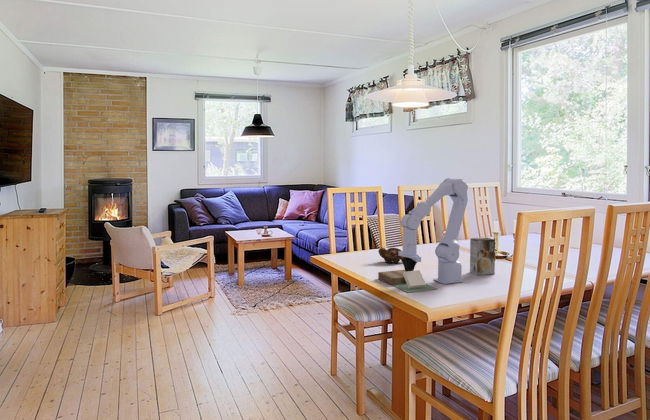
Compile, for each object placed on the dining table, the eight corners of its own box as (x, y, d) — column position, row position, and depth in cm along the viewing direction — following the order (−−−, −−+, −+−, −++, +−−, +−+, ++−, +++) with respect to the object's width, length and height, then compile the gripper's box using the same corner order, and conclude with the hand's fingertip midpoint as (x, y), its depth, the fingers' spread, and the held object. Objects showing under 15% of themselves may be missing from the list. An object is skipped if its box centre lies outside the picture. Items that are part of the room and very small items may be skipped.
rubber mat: (420, 282, 199) (420, 281, 199) (437, 289, 188) (437, 288, 188) (392, 285, 193) (392, 284, 193) (407, 292, 182) (407, 292, 182)
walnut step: (405, 276, 210) (405, 269, 209) (420, 282, 199) (420, 275, 198) (378, 279, 205) (378, 272, 204) (392, 285, 193) (392, 278, 193)
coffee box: (486, 271, 218) (487, 237, 217) (494, 274, 212) (495, 239, 211) (469, 272, 216) (470, 238, 215) (476, 275, 210) (477, 240, 209)
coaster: (417, 272, 194) (419, 270, 193) (424, 287, 190) (426, 284, 188) (402, 274, 192) (404, 271, 190) (409, 288, 187) (410, 286, 186)
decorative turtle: (375, 261, 241) (376, 246, 241) (403, 262, 244) (404, 247, 243) (380, 264, 232) (381, 248, 231) (409, 265, 234) (410, 249, 234)
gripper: (392, 241, 198) (392, 272, 199) (410, 247, 184) (410, 280, 186) (406, 240, 200) (406, 271, 202) (425, 245, 187) (425, 279, 188)
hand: (409, 275), depth 194 cm, fingers closed
